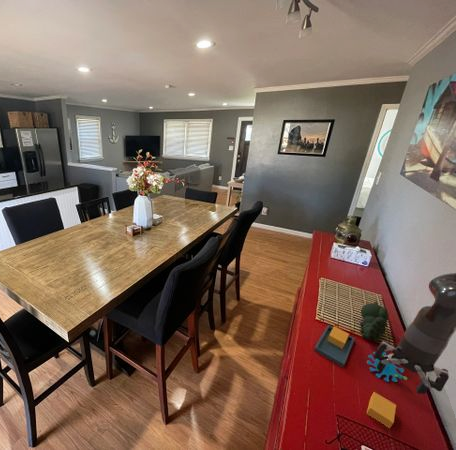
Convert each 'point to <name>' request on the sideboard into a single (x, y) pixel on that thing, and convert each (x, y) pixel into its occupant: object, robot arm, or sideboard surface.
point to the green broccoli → (373, 321)
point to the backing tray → (333, 348)
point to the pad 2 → (381, 410)
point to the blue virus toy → (387, 370)
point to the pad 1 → (338, 337)
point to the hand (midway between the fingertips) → (398, 380)
